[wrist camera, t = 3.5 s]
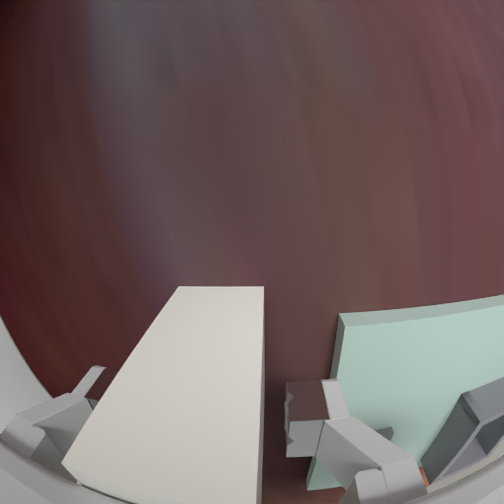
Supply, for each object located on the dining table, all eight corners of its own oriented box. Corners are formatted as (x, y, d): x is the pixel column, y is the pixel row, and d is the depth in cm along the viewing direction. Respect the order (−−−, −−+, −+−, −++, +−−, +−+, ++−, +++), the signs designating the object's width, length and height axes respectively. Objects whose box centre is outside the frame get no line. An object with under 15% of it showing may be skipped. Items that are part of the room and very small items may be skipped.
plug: (178, 286, 10) (61, 462, 3) (263, 286, 10) (255, 509, 2) (195, 385, 12) (148, 539, 4) (264, 388, 12) (258, 555, 4)
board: (339, 313, 10) (364, 370, 7) (549, 285, 9) (581, 305, 6) (306, 479, 14) (309, 518, 11) (480, 432, 13) (495, 457, 10)
